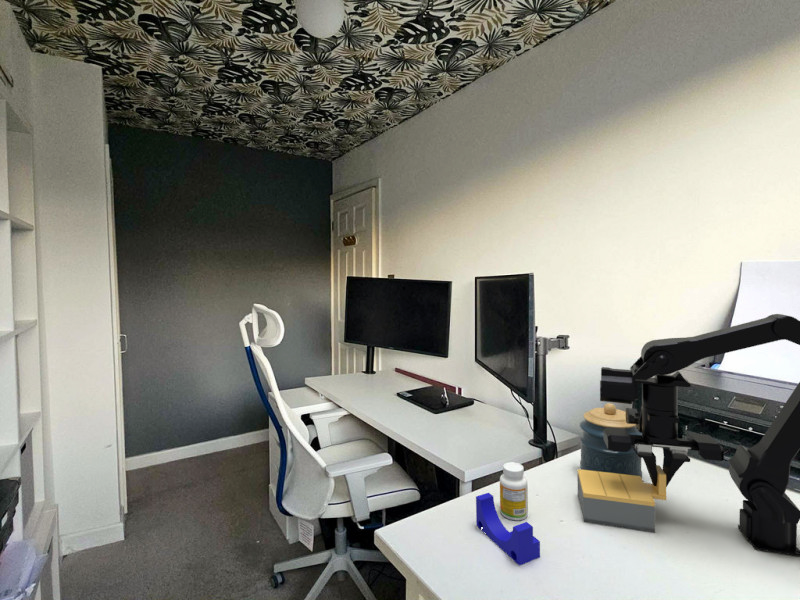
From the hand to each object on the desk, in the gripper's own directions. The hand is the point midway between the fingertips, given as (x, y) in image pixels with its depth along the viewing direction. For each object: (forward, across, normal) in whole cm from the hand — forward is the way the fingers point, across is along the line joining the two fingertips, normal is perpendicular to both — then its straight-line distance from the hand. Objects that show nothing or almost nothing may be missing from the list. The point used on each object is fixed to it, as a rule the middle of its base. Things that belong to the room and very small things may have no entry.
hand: (659, 485), depth 76 cm
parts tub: (+7, +8, 0) cm, 10 cm away
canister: (+7, +6, -16) cm, 18 cm away
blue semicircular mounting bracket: (+7, +28, +14) cm, 32 cm away
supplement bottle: (+7, +27, +6) cm, 28 cm away
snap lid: (+3, +7, 0) cm, 7 cm away
